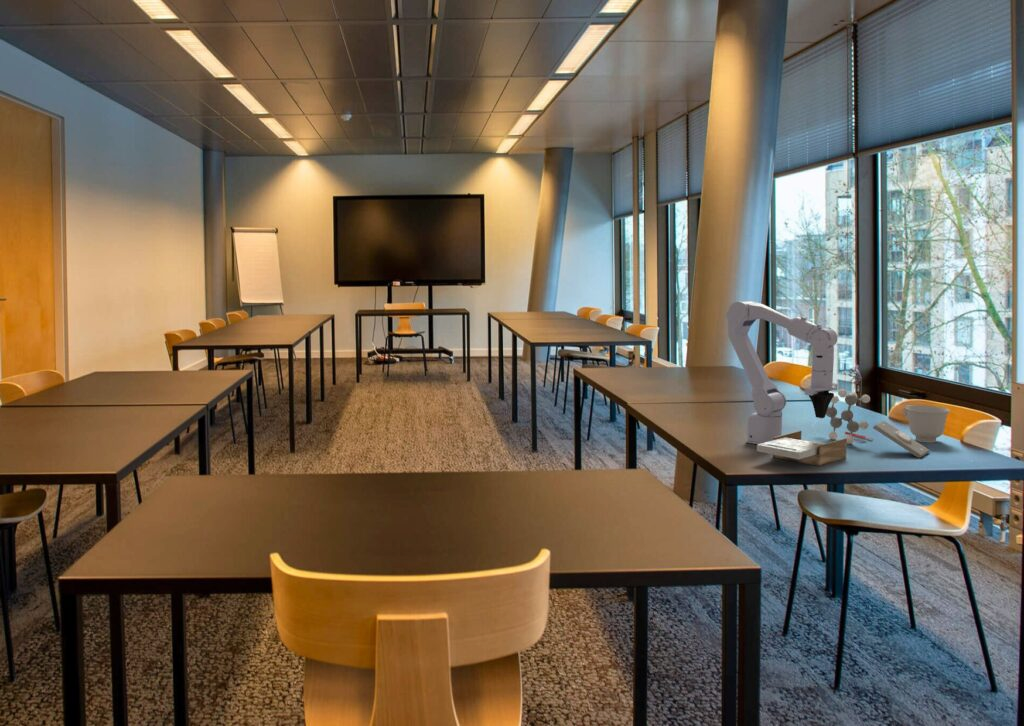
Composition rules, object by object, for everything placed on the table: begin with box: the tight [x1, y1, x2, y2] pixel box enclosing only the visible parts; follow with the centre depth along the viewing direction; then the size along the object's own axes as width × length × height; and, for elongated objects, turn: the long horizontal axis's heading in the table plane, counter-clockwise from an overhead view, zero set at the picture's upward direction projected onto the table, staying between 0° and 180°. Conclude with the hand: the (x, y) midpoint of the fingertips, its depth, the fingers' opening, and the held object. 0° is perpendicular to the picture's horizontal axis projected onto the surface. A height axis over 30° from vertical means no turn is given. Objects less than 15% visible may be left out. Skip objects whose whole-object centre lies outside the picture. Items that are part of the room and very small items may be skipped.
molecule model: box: [820, 388, 874, 445], centre depth 240 cm, size 20×16×16 cm
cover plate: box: [756, 437, 824, 459], centre depth 211 cm, size 12×14×2 cm
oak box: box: [772, 430, 847, 467], centre depth 217 cm, size 14×14×6 cm
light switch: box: [872, 420, 930, 459], centre depth 224 cm, size 8×6×14 cm
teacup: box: [902, 404, 951, 444], centre depth 239 cm, size 12×15×10 cm
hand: (820, 417), depth 224 cm, fingers closed
